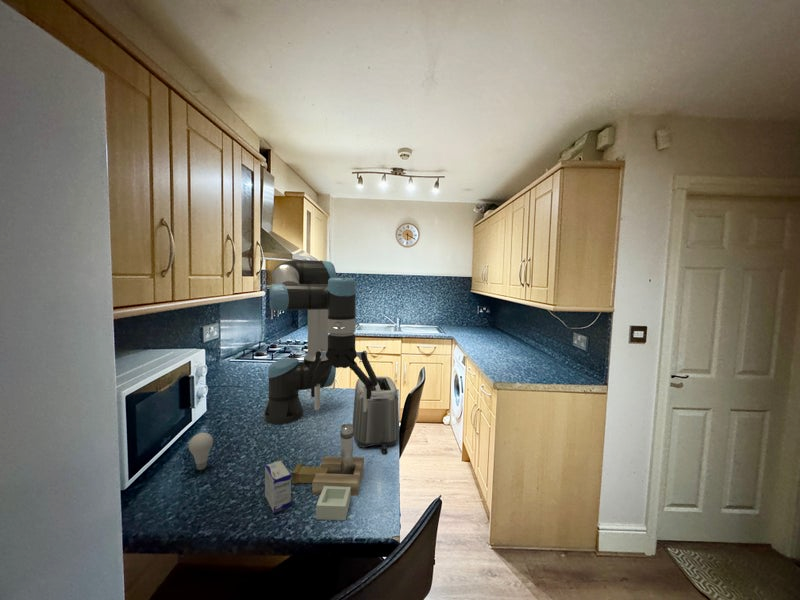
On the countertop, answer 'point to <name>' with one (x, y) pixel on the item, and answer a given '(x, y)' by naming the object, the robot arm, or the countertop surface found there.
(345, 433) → the grey peg
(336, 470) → the socket block
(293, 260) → the robot arm
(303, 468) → the yellow brown block
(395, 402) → the toaster
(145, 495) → the countertop surface
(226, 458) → the countertop surface
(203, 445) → the lightbulb
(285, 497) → the box
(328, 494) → the tray
